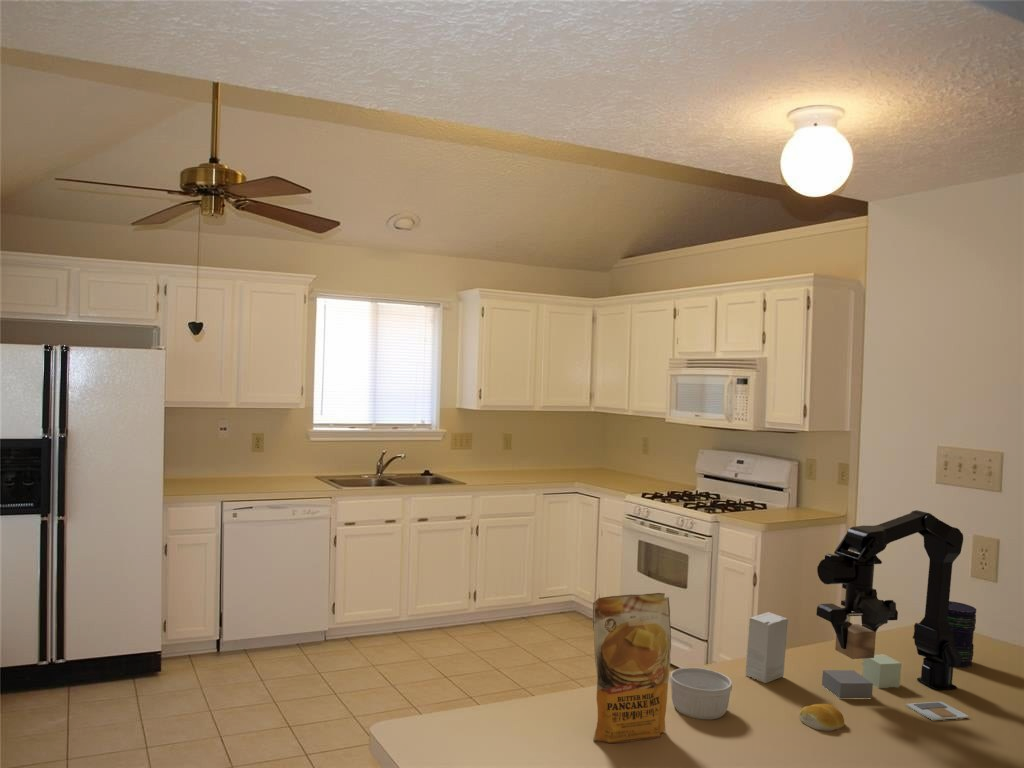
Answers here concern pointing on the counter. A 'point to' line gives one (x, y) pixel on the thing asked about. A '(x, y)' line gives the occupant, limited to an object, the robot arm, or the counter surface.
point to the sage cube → (882, 671)
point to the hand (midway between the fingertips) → (854, 648)
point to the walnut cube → (858, 643)
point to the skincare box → (766, 647)
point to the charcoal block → (847, 684)
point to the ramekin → (700, 692)
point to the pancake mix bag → (631, 666)
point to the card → (937, 710)
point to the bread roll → (822, 717)
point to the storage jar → (962, 630)
